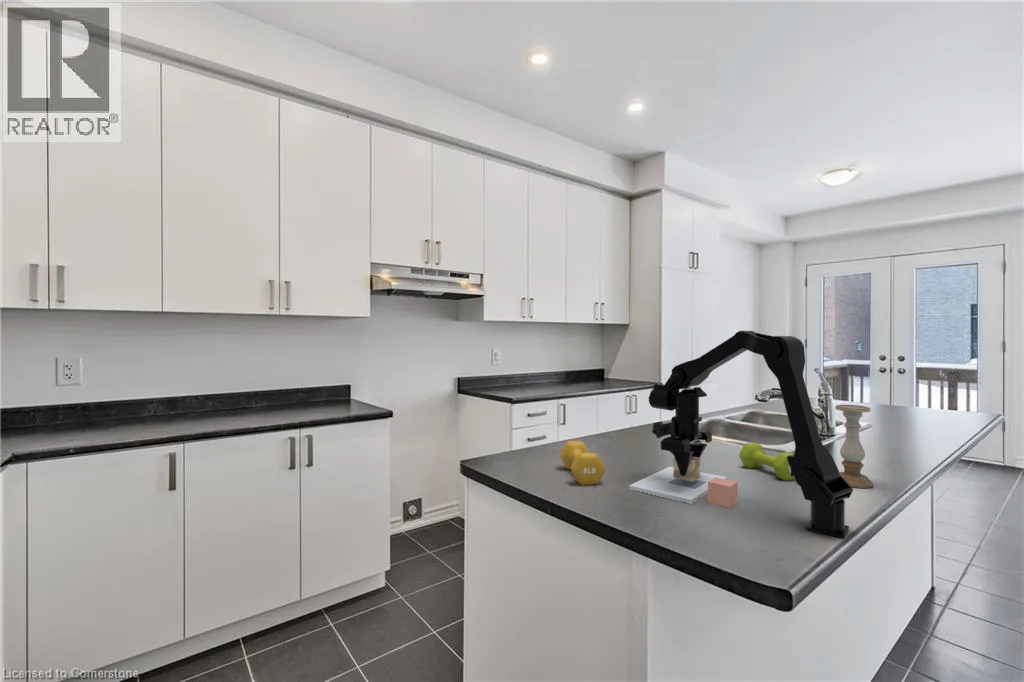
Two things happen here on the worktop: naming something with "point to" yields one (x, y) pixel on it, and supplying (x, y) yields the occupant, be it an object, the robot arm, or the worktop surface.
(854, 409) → the candle holder
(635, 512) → the worktop surface
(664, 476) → the blueprint board
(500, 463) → the worktop surface
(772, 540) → the worktop surface
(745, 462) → the dumbbell
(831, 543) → the worktop surface
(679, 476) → the maple block
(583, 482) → the dumbbell
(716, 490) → the coral block
